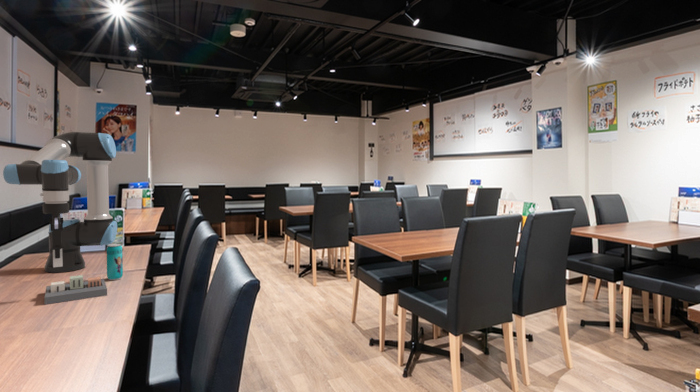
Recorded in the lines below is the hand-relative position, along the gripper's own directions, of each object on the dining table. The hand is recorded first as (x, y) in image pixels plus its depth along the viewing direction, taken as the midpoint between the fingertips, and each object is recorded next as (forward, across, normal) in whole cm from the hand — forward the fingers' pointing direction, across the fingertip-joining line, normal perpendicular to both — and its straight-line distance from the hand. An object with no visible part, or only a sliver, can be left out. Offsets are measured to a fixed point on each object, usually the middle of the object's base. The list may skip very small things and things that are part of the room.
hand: (57, 266), depth 135 cm
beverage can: (+12, -15, +19) cm, 27 cm away
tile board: (+11, +1, +5) cm, 12 cm away
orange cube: (+10, +1, +11) cm, 15 cm away
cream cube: (+10, +1, 0) cm, 10 cm away
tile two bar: (+9, +1, +5) cm, 10 cm away
